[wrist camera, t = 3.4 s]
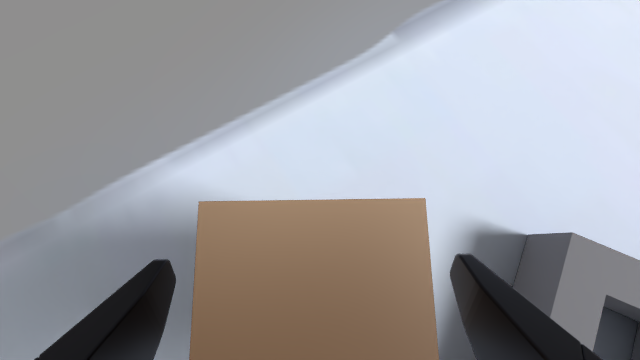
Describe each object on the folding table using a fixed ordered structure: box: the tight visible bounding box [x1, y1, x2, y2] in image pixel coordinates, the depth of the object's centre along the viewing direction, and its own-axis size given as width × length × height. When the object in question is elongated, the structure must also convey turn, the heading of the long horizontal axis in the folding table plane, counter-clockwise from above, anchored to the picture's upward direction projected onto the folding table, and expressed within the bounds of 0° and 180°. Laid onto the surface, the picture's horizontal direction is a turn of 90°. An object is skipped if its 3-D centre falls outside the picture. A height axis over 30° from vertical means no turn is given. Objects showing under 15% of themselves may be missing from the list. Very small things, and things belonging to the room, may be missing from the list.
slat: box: [189, 198, 439, 360], centre depth 10 cm, size 5×3×13 cm, turn 1°
